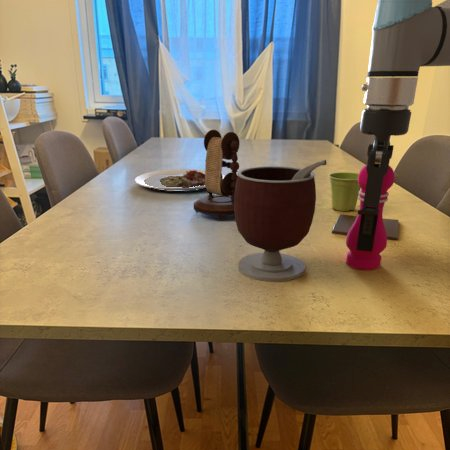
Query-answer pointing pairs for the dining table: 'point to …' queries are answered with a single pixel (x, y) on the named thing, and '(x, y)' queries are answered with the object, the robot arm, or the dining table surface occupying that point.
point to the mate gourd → (274, 218)
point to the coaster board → (347, 221)
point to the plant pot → (344, 190)
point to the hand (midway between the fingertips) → (366, 242)
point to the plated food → (177, 179)
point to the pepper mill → (373, 258)
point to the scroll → (219, 174)
